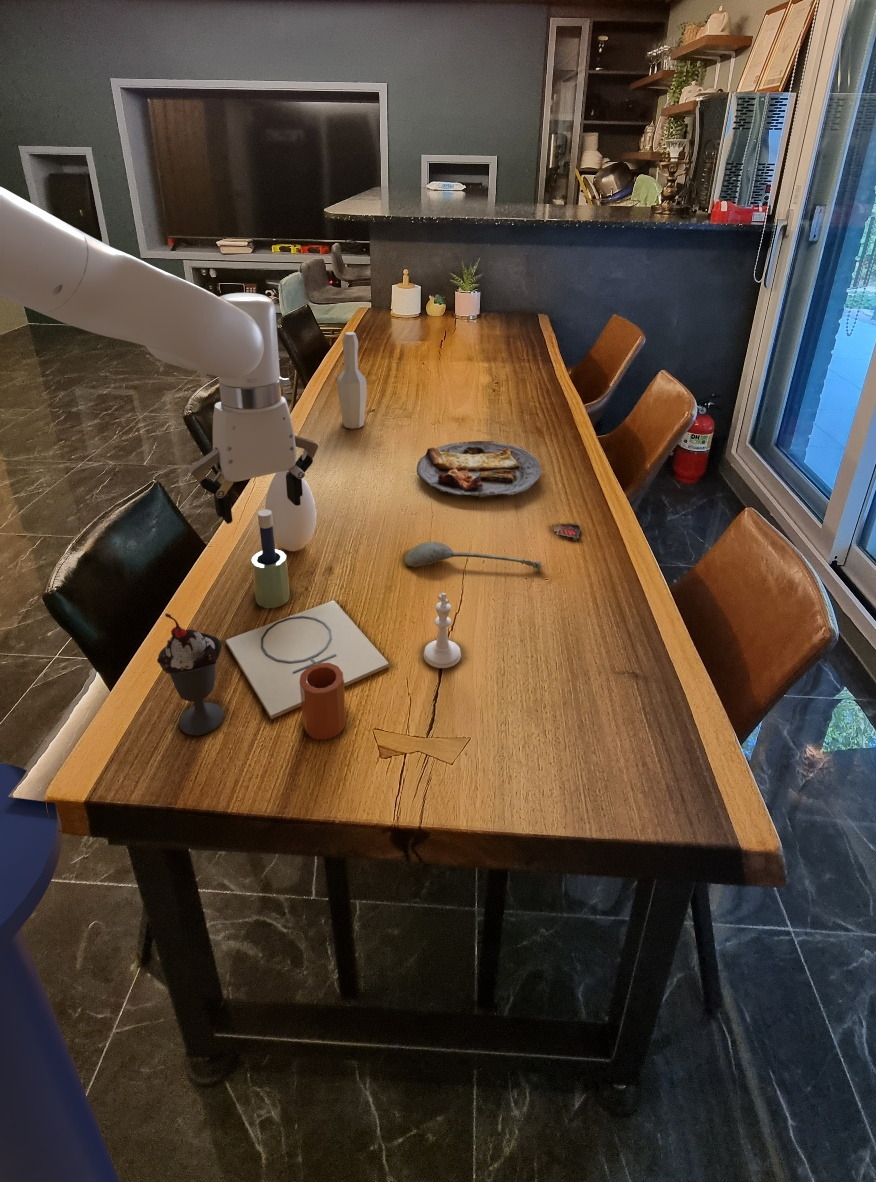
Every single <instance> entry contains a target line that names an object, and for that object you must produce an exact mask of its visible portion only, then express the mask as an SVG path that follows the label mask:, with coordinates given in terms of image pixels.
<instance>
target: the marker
mask: <svg viewBox="0 0 876 1182" xmlns="http://www.w3.org/2000/svg"><path fill="white" fill-rule="evenodd" d="M257 519H258V520H257V521H258V526H259V534H260V541H261V542H260V543H261V545H260V546H261V551H262V554H263V563H264V565H271V564H274V563H276V553H275V549H276V542H275V541H274V533H273V519H272V512H271V511H270V510H265V509H261V510H259V511H258V512H257Z"/></svg>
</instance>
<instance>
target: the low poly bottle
mask: <svg viewBox="0 0 876 1182" xmlns="http://www.w3.org/2000/svg"><path fill="white" fill-rule="evenodd" d="M341 343H342V349H343V356H344V357H343V360H344V361H343V362H344V363H343V364H344V368H343V370H342V371H341V373H340V374H339V376H337V380H336V381H337V397H338V402H339V408H340V413H341V420H342V425H343V426H344V428H346V429H347V428H348V429H351V430H353V429H359V428H361V427H363V426H365V420H366V419H365V417H366V408H367V400H368V399H367V398H368V394H367V392H368V391H367V379H366V378H365V376H364V374H362V372H361V371H360V370H359V358H358V356H359V355H358V353H359V340H358V337H357V334H356V332H353V331H346V332H344V334H343V338H342V341H341Z"/></svg>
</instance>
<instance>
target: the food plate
mask: <svg viewBox="0 0 876 1182" xmlns="http://www.w3.org/2000/svg"><path fill="white" fill-rule="evenodd" d="M416 473H417V476H418V477H419V478H420V479H421V480H423V481H424V482H425V483H426V484H427V486H428V487H431V488H432V489H435V490H436V491H435V492H437V491H440V492H441V493H443V492H448V494H449V495H452V496H453V495H455V496H456V495H460V496H464V495H465V496H471V497H478V496H479V498H480V499H481V498H485V497H490V496H497V495H507V496H511V495H512V496H513V495H517V494H520V493H522V492H526V491H527V490H529V489H530V488H531V487H533V485H534V483H536V482H537V481H538V480H539V479H540V477H541V473H542V467H541V464H540V462H539V458H537V457H536V456H534V455H533V454H531V452H529V451H528V450H526V449H524V448H521V447H519V446H516V445H513V444H507V443H502V442H496V441H493V440H475V441H474V440H473V441H472V440H471V441H460V442H451V443H448V444H443V445H439V447H437V448H436V447H430V448H427V450H426V453H425V455H423V456H421V457H420V458H419V461H418V462H417V466H416Z"/></svg>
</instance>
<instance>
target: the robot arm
mask: <svg viewBox="0 0 876 1182" xmlns="http://www.w3.org/2000/svg"><path fill="white" fill-rule="evenodd" d="M0 298H3V299H5V300H8V301H11V302H13V303H15V304H18V305H21V306H22V307H25V308H27V309H30V310H32V311H35V312H37V313H39V314H42V315H43V316H47V317H49V318H51V319H54V320H56V321H58V322H61V323H63V324H66V325H68V326H72V327H74V328H77V329H81V330H82V331H83V330H84V331H87V332H90V333H93V334H96V335H100V336H104V337H108V338H112V339H117V340H121V341H126V342H130V343H134V344H137V345H141V346H143V347H144V346H145V347H146V349H147V350H148V352H149V353H150V354H151V355H152V356H154V357H155V358H156V359H158V360H159V361H161V362H163V363H166V364H169V365H172V366H176V367H179V368H183V369H187V370H192V371H196V372H199V373H203V374H208V375H210V376H214V377H218V389H219V397H220V401H218V402H216V403H215V404H214V406H213V415H212V450H211V451H210V452H209V453H208V454H206V455H204V456H203V457H202V458H200V459H199V460H198V461H196V462H195V463H193V464H192V465H190V466H189V468H188V471H189V473H190V474H191V475H192V477H193V478H194V479H195V481H196V482H197V483H198V484H199V485H200V486H201V488H202V489H204V490H205V491H207V492H209V493H210V494H212V495H213V498H214V507H215V513H216V515H217V516H218V518H222V520H223V521H224V522H225V523H226V524H227V525H230V524H232V523H233V511H232V503H231V496H229V494H228V492H229V490H230V489H231V488H232V486H233V485H234V483H236V482H241V481H247V480H251V479H256V478H259V477H265V476H268V475H273V474H276V473H277V472H281V471H285V470H289V472H287V475H286V487H287V497H288V499H289V500H290V501H291V502H292V503H293V504H294V505H296V506H298V505H300V504H301V503H300V496H302V478H304V479H305V476H306V472H307V471H308V469H309V468H310V466H311V465H312V464H313V461H314V460H313V459H314V458H315V455H316V453H317V451H318V449H319V444H318V443H316V441H314V440H311V439H308V438H305V437H301V436H299V435H295V430H294V426H293V421H292V417H291V412H290V408H289V405H288V401H287V399H286V398H285V397H284V394H283V393H284V391H286V389H290V388H291V387H292V383H291V380H290V378H288V377H285V378H284V377H281V372H280V356H279V342H278V328H277V327H278V326H277V312H276V307H275V304H274V302H273V300H272V299H271V298H270V297H268V296H267V295H264V294H260V293H255V292H234V293H227V294H223V295H220V296H219V295H216V294H214V293H213V292H211V291H209V290H207V289H205V288H203V287H200V286H198V285H196V284H194V283H192V282H190V281H188V280H185V279H183V278H181V277H178V276H177V275H175V274H172V273H169V272H167V271H165V270H163V269H160V268H158V267H156V266H154V265H151V264H150V263H147V262H145V261H144V260H142V259H140V258H137V257H135V256H133V255H131V254H128V253H126V252H124V251H122V250H119V249H117V248H115V247H112V246H110V245H108V244H106V243H105V242H103V241H101V240H99V239H97V238H94V237H93V236H91V235H89V234H87V233H85V232H84V231H81V230H80V229H79V228H77V227H74V226H73V225H71V224H69V223H67V222H66V221H63V220H61V218H58V217H56V216H54V215H53V214H51V213H49V212H47V211H45V210H43V209H42V208H40V207H39V206H37V205H35V204H33V203H31V202H30V201H28V200H26V199H24V198H22V197H20V196H19V195H17V194H15V193H13V192H11V191H9V190H8V189H6V188H4V187H2V186H0ZM297 448H300V449H303V451H302V454H300V456H299V457H298V458H297ZM212 467H214V468H215V470H216V471H218V472H217V474H216V475H215V477H214V479H213V480H212V479H211V478H209V477H207V475H206V472H207V471H208V470H210V469H211V468H212Z"/></svg>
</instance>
